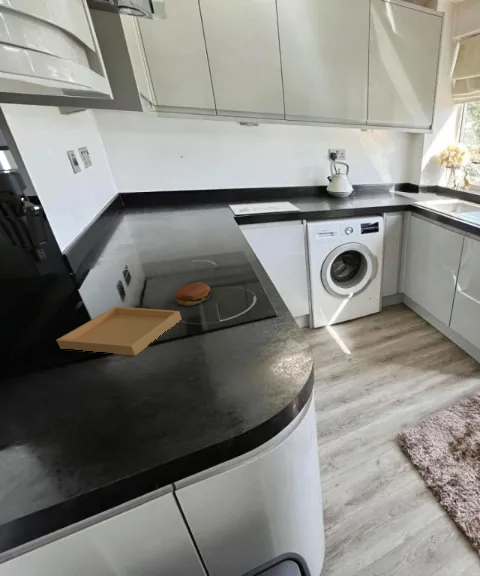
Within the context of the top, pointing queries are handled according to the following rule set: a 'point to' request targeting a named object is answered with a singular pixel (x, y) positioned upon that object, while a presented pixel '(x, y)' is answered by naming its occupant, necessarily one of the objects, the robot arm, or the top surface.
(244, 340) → the top surface
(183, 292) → the burger
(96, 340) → the tray
